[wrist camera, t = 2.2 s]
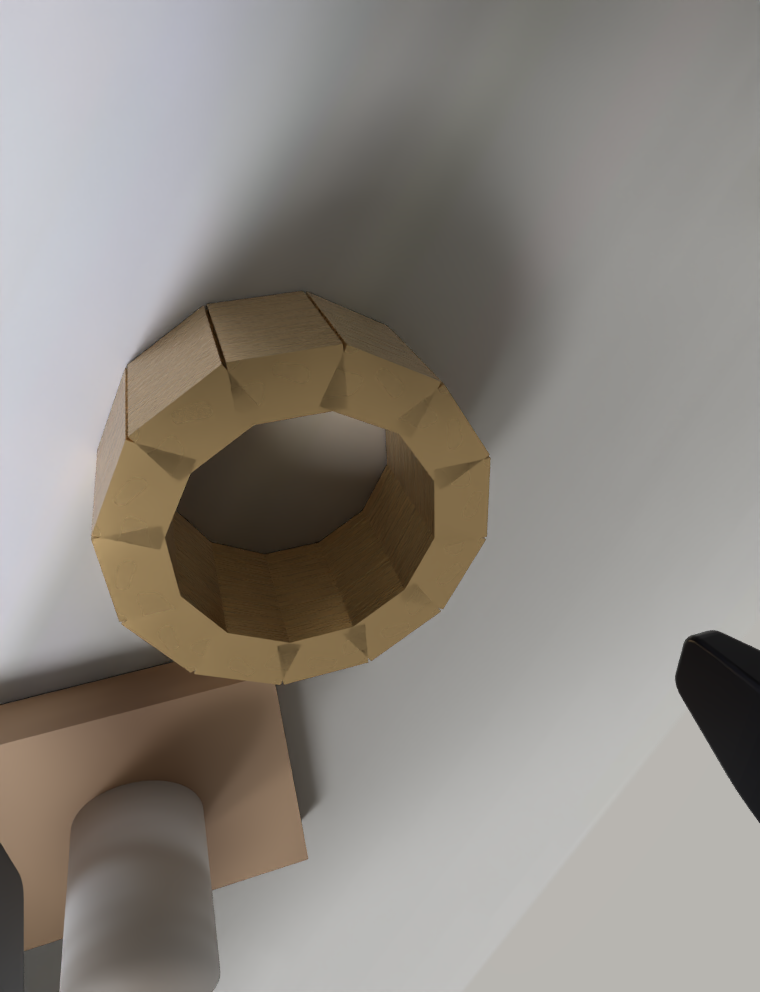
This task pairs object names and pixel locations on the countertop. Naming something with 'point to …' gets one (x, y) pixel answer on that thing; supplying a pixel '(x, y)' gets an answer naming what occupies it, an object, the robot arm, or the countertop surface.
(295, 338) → the ring
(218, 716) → the peg stand
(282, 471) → the countertop surface
